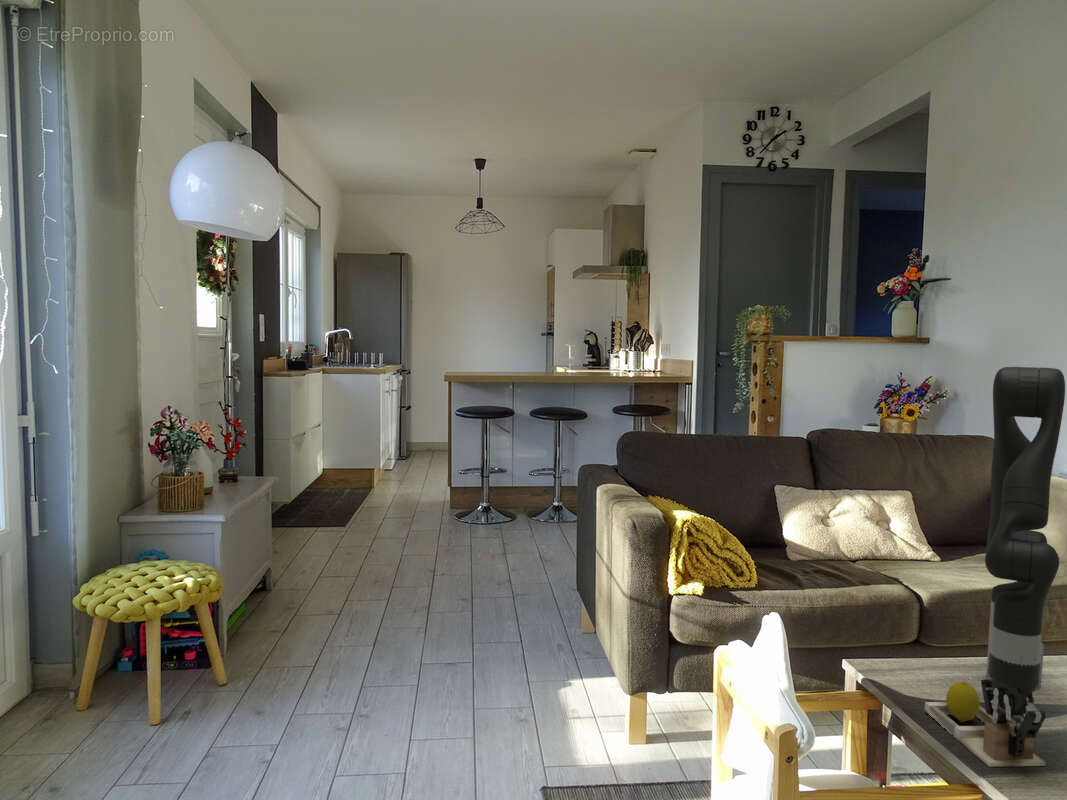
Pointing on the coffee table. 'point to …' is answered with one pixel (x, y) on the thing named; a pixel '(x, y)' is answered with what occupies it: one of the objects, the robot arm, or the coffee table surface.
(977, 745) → the white open frame tray
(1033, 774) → the coffee table surface
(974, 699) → the lemon
